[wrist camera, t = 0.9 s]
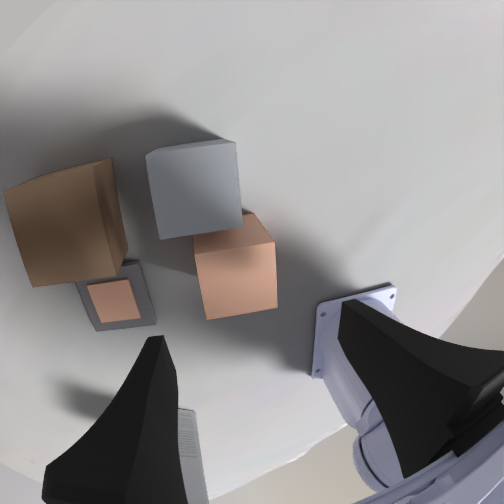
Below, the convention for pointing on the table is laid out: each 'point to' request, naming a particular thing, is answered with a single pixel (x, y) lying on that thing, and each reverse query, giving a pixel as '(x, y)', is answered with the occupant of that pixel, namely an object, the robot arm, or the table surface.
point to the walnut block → (69, 224)
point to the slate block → (195, 188)
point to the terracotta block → (236, 269)
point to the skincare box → (191, 458)
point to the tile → (118, 299)
